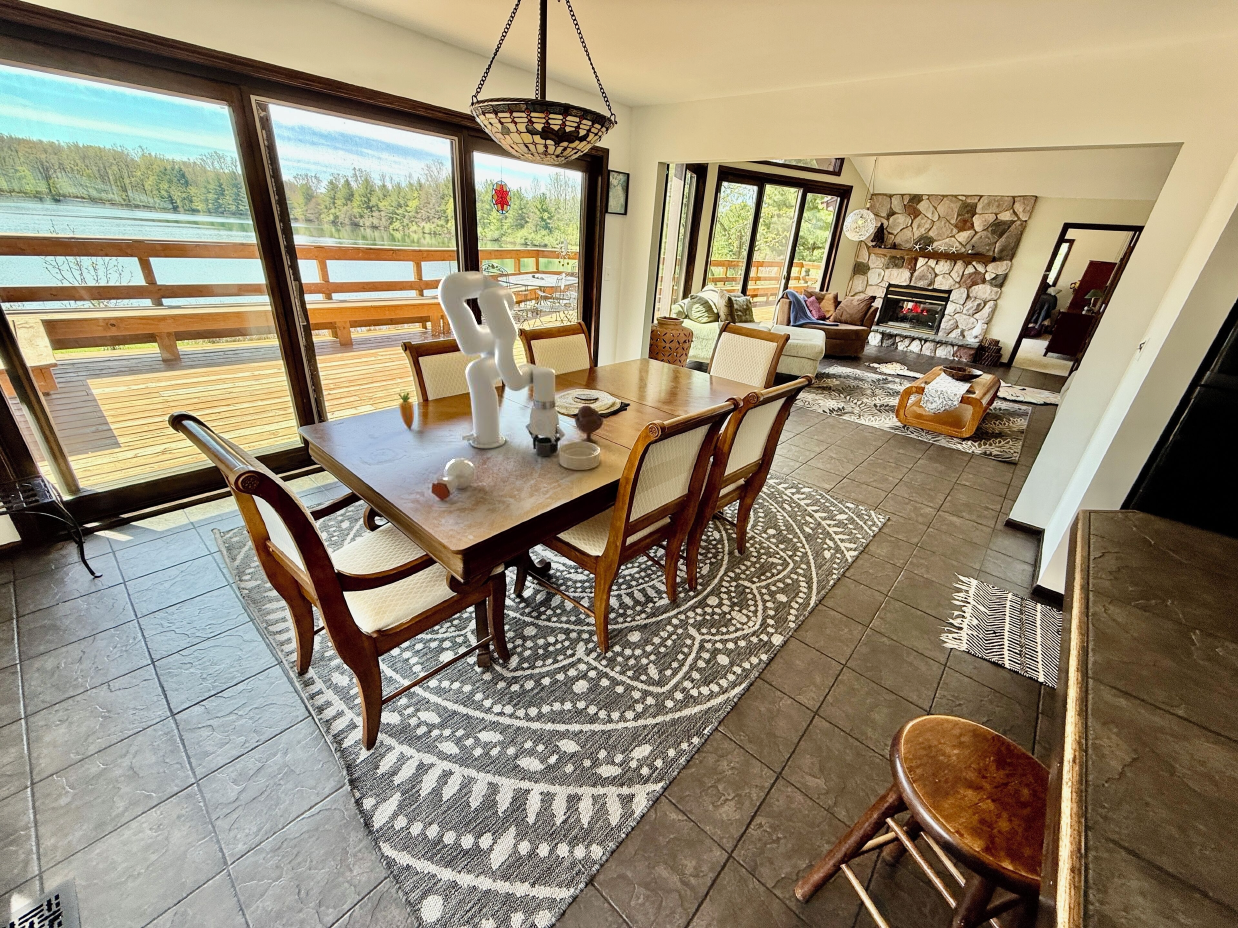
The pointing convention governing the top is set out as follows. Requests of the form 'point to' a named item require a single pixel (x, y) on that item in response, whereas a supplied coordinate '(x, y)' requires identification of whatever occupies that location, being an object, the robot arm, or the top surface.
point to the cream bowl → (579, 455)
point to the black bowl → (543, 446)
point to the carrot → (406, 410)
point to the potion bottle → (454, 478)
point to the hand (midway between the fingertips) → (545, 450)
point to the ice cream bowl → (588, 422)
